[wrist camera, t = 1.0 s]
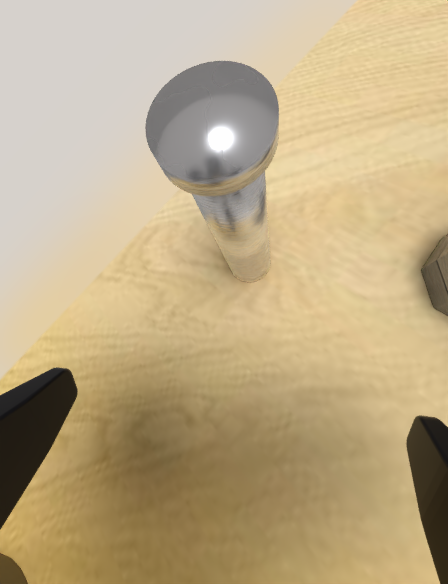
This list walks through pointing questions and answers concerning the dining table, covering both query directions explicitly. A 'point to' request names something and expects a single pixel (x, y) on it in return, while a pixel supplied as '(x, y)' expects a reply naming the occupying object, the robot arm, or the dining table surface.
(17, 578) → the brown game pawn
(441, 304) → the hinge leaf
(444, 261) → the hinge leaf
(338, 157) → the dining table surface
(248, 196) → the hinge pin
